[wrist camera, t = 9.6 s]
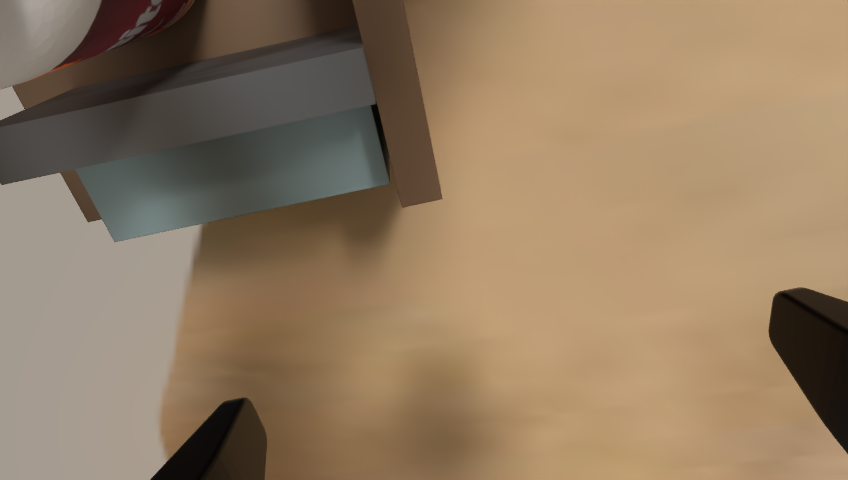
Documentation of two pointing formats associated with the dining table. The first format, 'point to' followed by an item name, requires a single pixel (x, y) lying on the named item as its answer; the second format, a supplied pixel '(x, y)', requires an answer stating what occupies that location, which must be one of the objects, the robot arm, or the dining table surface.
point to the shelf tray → (231, 115)
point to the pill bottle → (73, 31)
